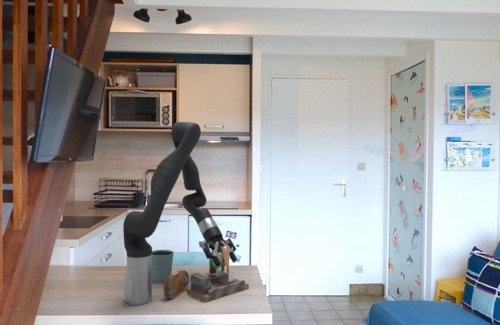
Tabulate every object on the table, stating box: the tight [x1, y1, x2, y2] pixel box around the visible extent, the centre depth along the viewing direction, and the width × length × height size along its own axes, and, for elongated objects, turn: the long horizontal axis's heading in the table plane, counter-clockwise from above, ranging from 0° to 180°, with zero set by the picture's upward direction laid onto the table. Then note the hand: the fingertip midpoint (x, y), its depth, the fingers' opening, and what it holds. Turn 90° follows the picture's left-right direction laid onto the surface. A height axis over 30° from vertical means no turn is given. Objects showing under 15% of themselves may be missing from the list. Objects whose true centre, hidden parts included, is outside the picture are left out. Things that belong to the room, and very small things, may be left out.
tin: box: [162, 270, 190, 300], centre depth 150 cm, size 15×3×8 cm, turn 159°
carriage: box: [216, 245, 235, 285], centre depth 156 cm, size 3×8×15 cm, turn 43°
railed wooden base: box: [186, 272, 250, 303], centre depth 153 cm, size 22×12×8 cm, turn 133°
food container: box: [208, 252, 221, 278], centre depth 175 cm, size 12×6×10 cm, turn 179°
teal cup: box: [152, 249, 174, 284], centre depth 166 cm, size 10×10×12 cm
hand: (227, 263), depth 155 cm, fingers open, 8 cm apart
